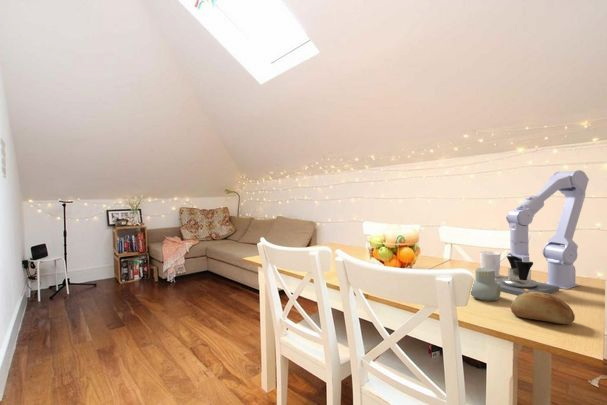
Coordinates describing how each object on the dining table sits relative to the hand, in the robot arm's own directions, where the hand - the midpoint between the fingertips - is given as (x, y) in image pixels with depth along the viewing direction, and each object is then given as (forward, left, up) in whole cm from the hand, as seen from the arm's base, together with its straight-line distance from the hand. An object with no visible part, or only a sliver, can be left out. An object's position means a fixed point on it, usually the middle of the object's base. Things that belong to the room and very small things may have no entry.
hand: (519, 277), depth 125 cm
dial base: (0, 0, -4) cm, 4 cm away
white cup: (-9, -17, -4) cm, 20 cm away
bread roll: (+26, +20, -4) cm, 33 cm away
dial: (0, 0, -3) cm, 3 cm away
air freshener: (+21, 0, -4) cm, 21 cm away
